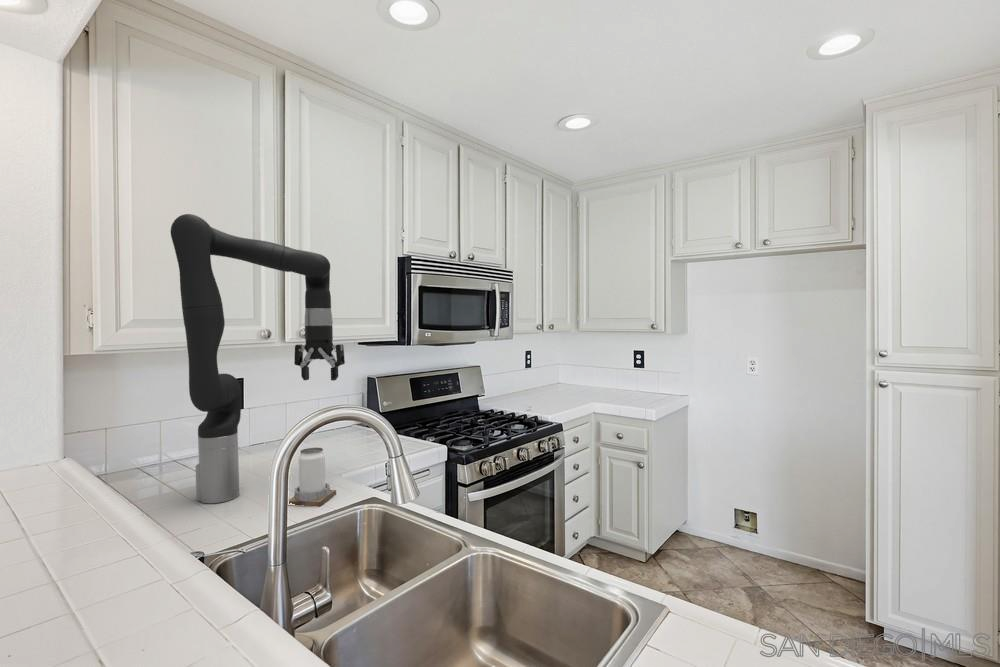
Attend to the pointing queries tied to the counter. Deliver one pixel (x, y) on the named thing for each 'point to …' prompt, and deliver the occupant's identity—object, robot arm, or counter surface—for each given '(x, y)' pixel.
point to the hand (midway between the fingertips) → (320, 380)
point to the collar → (312, 494)
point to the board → (313, 503)
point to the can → (311, 470)
